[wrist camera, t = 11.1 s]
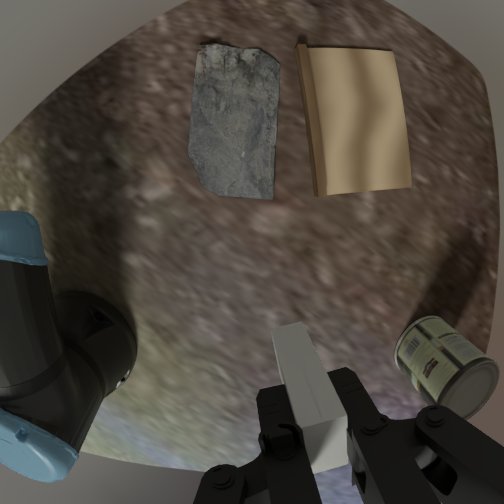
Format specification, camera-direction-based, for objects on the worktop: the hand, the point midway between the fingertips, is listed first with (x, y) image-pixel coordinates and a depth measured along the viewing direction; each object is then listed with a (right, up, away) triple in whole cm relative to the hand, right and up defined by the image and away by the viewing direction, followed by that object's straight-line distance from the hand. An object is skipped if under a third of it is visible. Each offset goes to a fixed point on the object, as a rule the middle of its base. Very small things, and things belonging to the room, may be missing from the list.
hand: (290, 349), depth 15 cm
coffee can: (+24, -10, +29) cm, 39 cm away
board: (+11, +21, +20) cm, 31 cm away
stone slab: (+1, +19, +20) cm, 28 cm away
